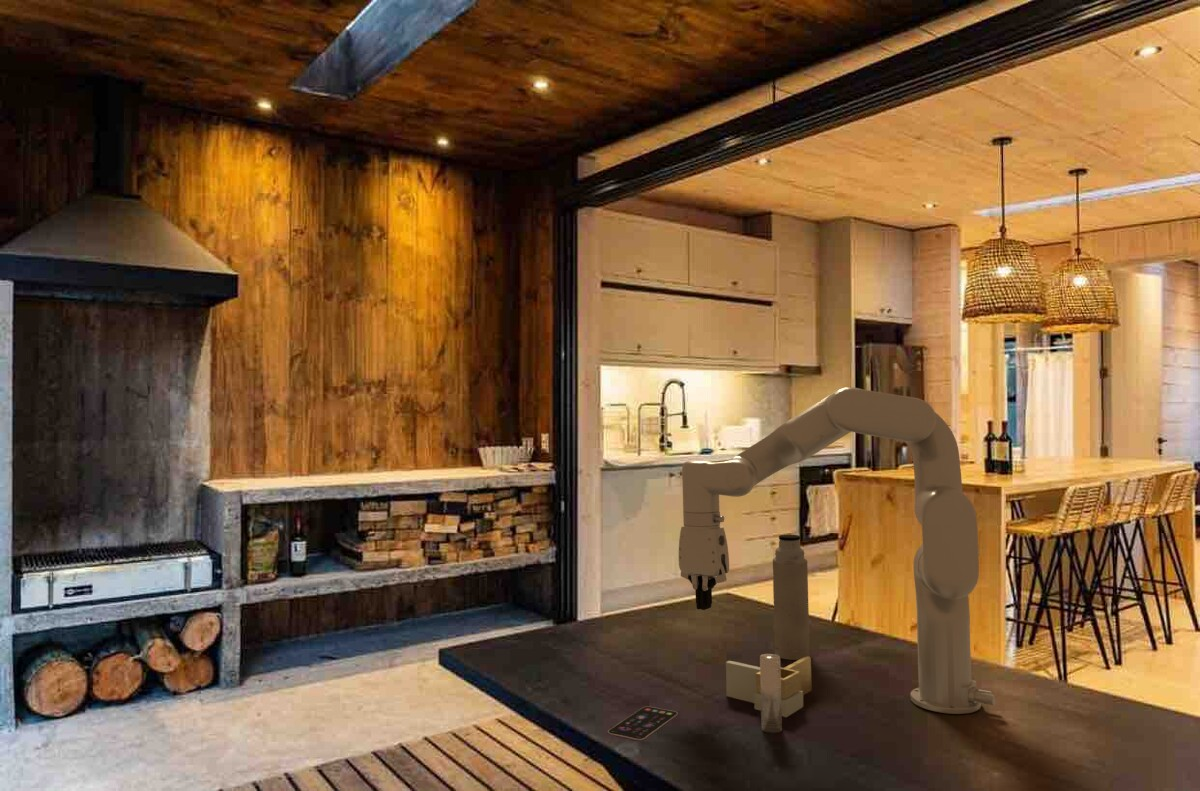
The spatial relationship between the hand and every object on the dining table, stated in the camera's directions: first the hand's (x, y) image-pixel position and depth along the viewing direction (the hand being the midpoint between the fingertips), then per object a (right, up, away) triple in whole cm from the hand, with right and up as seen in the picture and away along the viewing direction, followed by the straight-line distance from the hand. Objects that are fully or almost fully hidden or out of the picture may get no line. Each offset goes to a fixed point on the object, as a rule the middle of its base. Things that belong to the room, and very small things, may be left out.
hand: (704, 608), depth 167 cm
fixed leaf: (+16, -16, -8) cm, 24 cm away
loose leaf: (+10, -16, -9) cm, 21 cm away
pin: (+9, -16, -22) cm, 29 cm away
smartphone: (-13, -17, -17) cm, 28 cm away
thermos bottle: (+24, -17, +22) cm, 36 cm away
